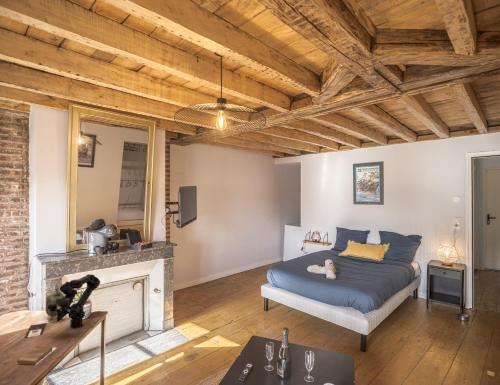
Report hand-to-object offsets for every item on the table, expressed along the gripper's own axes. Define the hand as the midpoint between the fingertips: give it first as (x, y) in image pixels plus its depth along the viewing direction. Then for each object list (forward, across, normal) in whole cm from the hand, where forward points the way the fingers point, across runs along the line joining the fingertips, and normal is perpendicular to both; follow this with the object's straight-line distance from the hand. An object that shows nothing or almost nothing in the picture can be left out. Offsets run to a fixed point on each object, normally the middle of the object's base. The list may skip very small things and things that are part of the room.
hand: (57, 321), depth 179 cm
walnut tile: (+16, 0, 0) cm, 16 cm away
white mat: (+20, 0, -3) cm, 20 cm away
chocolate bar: (+1, -22, +18) cm, 29 cm away
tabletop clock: (-12, -21, +31) cm, 39 cm away
